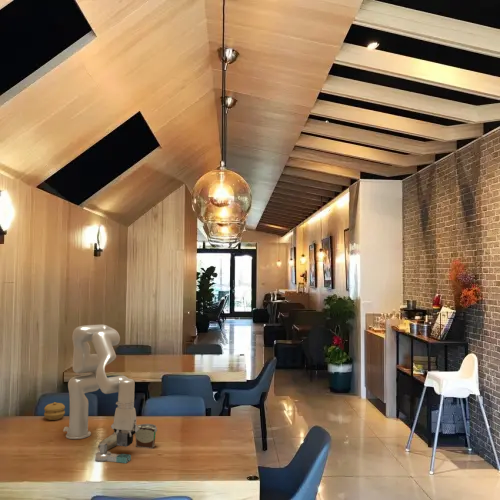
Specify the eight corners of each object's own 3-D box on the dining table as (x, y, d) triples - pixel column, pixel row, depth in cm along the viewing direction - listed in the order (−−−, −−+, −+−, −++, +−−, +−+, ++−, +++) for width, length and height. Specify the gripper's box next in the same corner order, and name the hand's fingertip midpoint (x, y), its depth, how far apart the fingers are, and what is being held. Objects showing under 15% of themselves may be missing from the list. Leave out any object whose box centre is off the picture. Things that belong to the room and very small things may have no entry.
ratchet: (92, 461, 232) (92, 445, 232) (100, 455, 238) (100, 440, 239) (124, 464, 227) (124, 448, 228) (132, 459, 234) (132, 443, 235)
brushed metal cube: (116, 445, 241) (117, 432, 241) (122, 442, 246) (122, 429, 246) (126, 446, 240) (127, 434, 240) (132, 443, 245) (132, 430, 245)
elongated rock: (92, 453, 247) (111, 455, 245) (92, 442, 247) (111, 444, 245) (124, 428, 282) (141, 430, 279) (124, 419, 281) (141, 421, 279)
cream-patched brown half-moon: (161, 445, 254) (161, 424, 255) (155, 448, 248) (155, 428, 249) (140, 442, 258) (140, 422, 259) (133, 446, 252) (133, 425, 253)
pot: (49, 416, 309) (50, 399, 310) (68, 416, 308) (68, 400, 309) (40, 421, 297) (40, 404, 298) (59, 422, 296) (59, 404, 297)
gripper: (106, 405, 242) (104, 443, 242) (138, 408, 238) (136, 448, 237) (114, 401, 250) (112, 438, 249) (145, 404, 245) (144, 442, 244)
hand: (124, 442), depth 243 cm, fingers closed on brushed metal cube, 5 cm apart
